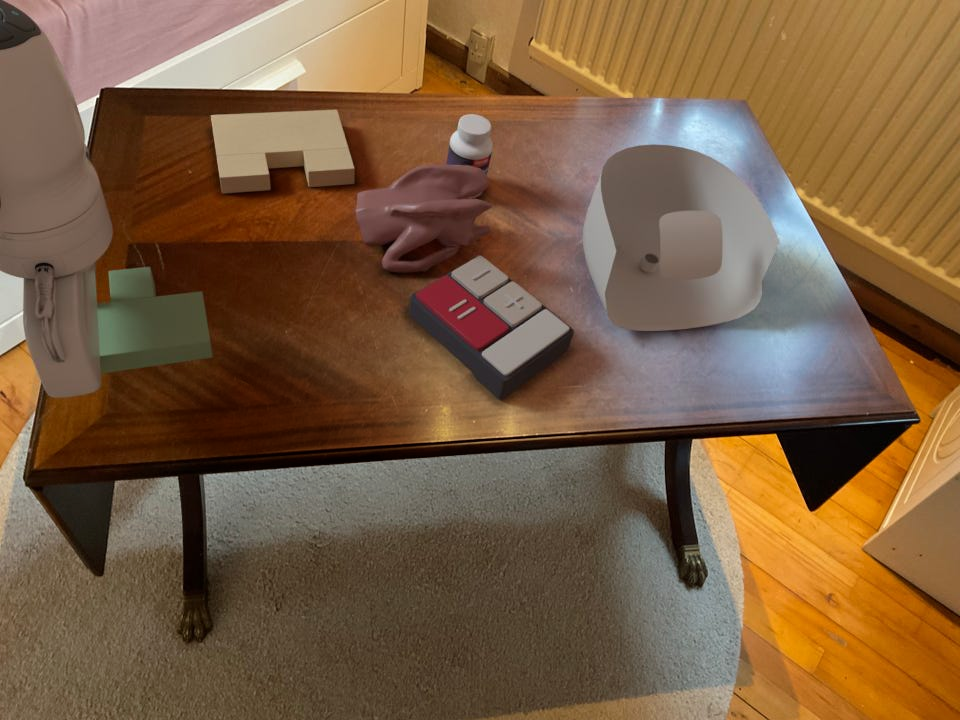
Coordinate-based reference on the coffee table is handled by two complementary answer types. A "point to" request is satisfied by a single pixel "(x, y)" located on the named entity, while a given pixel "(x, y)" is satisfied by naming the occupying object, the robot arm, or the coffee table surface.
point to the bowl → (675, 240)
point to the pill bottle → (471, 143)
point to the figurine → (424, 214)
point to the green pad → (149, 324)
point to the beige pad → (280, 148)
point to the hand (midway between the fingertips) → (87, 336)
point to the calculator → (491, 325)
